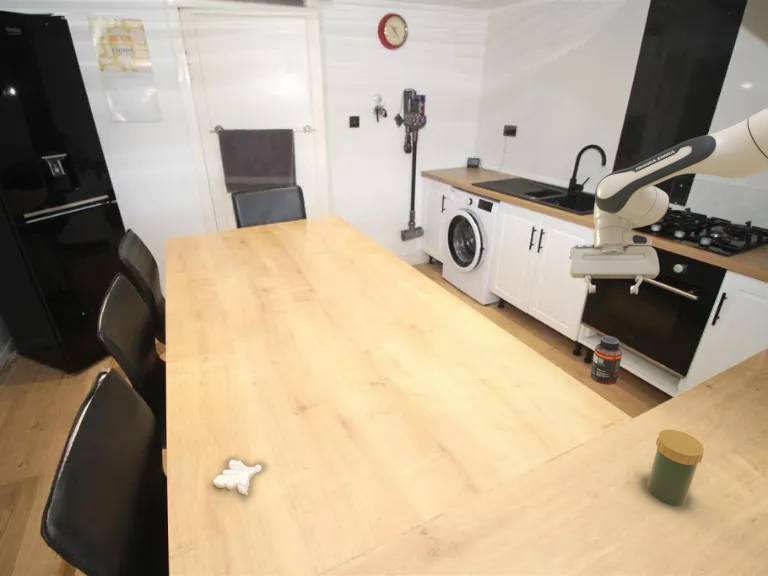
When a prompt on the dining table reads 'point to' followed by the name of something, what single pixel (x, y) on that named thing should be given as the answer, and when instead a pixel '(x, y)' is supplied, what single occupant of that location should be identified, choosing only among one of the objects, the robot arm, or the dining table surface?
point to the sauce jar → (670, 480)
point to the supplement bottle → (606, 361)
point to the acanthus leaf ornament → (236, 476)
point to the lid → (680, 447)
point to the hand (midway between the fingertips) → (612, 293)
